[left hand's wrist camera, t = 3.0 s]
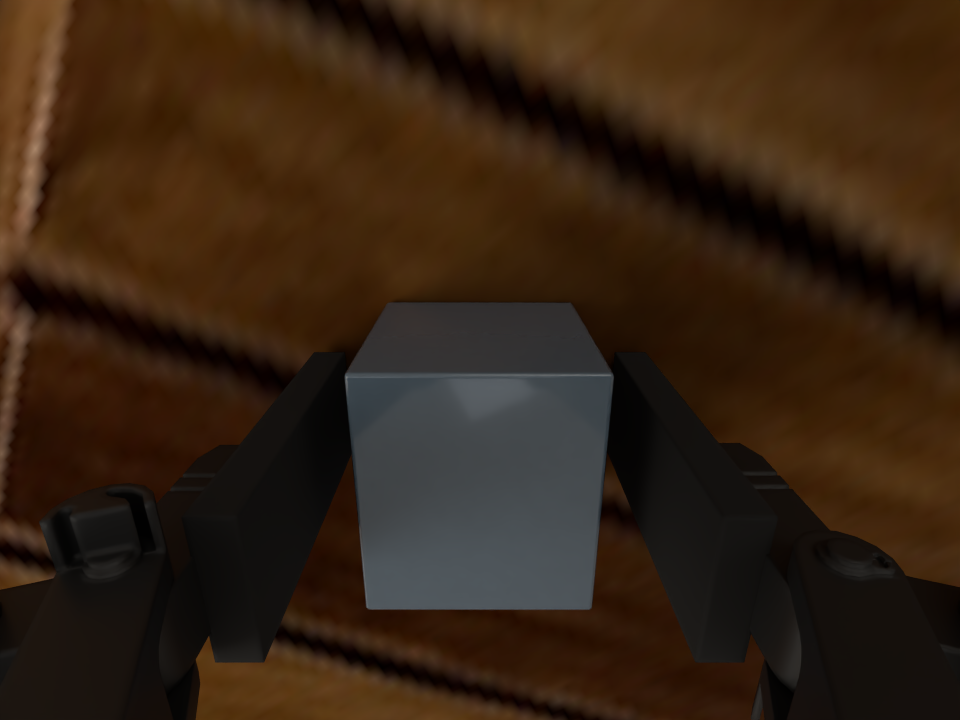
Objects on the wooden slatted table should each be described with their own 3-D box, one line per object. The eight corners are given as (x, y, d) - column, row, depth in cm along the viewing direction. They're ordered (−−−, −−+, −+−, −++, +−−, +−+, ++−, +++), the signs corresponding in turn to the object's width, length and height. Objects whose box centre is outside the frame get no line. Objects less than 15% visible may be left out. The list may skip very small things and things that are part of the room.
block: (572, 302, 13) (615, 373, 9) (561, 481, 15) (592, 611, 11) (386, 301, 13) (342, 373, 9) (397, 481, 15) (365, 611, 11)
